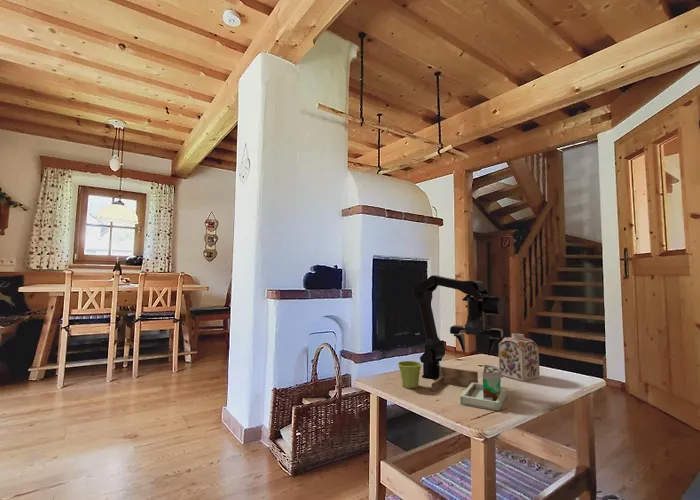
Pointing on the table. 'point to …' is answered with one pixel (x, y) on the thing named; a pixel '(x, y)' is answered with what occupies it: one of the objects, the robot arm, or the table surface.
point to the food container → (491, 382)
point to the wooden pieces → (456, 378)
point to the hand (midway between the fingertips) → (476, 354)
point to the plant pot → (410, 373)
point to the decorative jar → (519, 358)
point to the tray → (478, 400)
